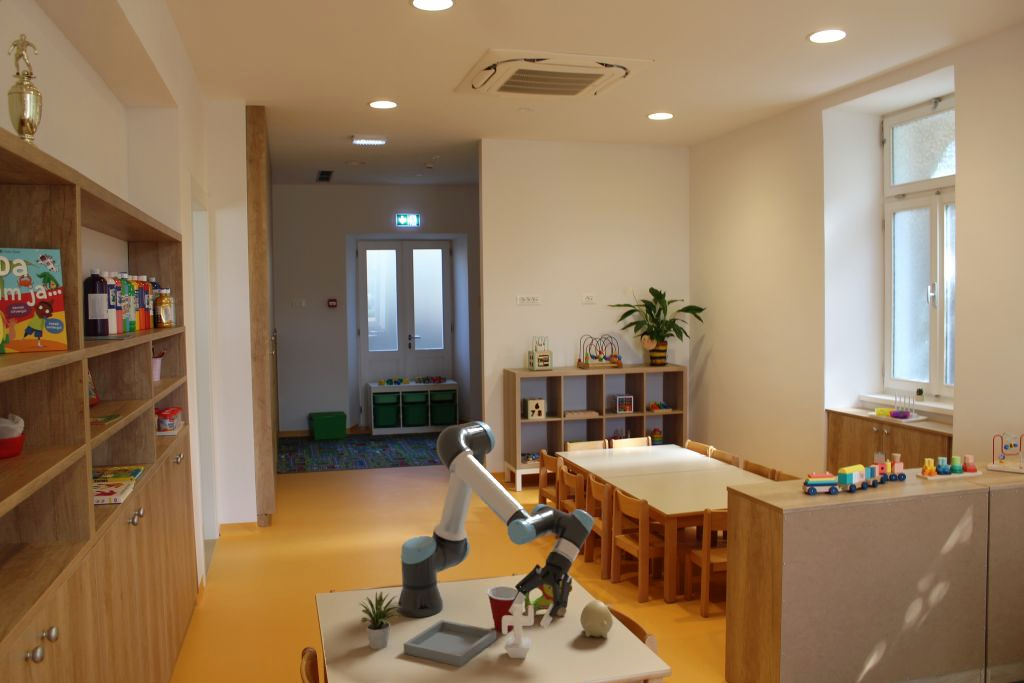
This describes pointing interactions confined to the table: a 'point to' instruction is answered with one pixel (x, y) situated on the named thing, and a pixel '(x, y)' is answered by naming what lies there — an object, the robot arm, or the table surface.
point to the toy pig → (596, 619)
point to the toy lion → (544, 599)
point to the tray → (450, 642)
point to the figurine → (517, 631)
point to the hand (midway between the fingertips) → (527, 619)
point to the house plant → (378, 622)
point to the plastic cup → (501, 604)
